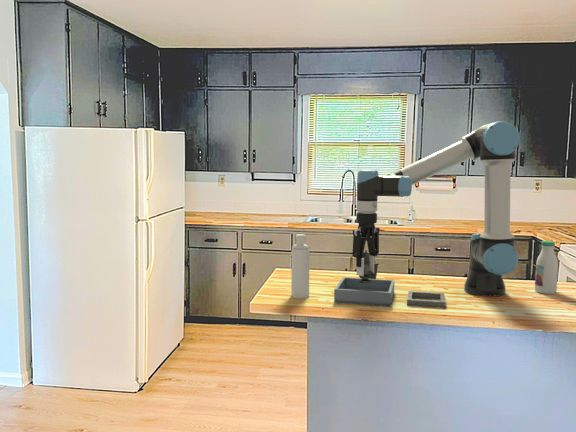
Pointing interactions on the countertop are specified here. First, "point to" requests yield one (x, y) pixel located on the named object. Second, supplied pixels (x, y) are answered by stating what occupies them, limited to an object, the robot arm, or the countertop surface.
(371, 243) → the robot arm
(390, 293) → the bin
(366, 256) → the dark grey tall piece
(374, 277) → the coffee cup
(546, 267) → the milk bottle
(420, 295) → the collar
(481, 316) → the countertop surface
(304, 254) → the white plastic bottle
